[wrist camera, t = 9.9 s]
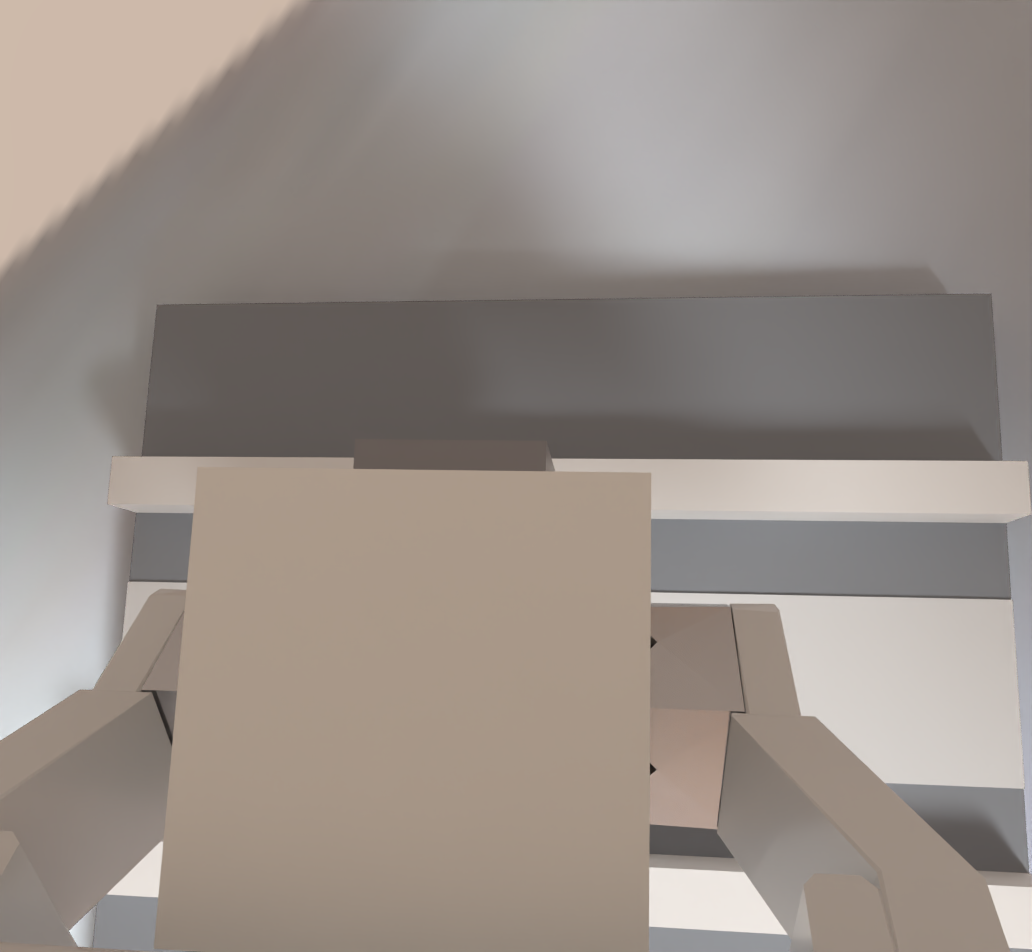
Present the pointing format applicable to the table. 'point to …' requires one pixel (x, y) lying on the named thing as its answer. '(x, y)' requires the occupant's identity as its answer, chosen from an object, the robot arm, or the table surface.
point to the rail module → (413, 707)
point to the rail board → (676, 514)
